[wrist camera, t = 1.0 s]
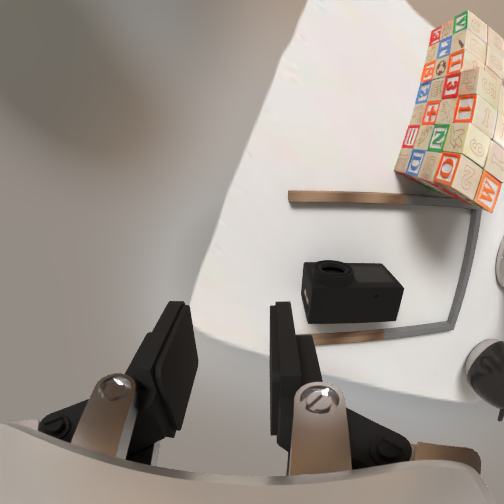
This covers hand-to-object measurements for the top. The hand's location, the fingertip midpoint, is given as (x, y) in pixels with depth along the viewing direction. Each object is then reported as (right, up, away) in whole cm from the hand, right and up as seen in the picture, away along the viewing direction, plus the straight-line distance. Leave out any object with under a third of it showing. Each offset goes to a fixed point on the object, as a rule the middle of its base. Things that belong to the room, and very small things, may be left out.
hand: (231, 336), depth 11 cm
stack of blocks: (+23, +21, +16) cm, 36 cm away
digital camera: (+12, +1, +24) cm, 27 cm away
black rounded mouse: (+44, -16, +29) cm, 55 cm away
